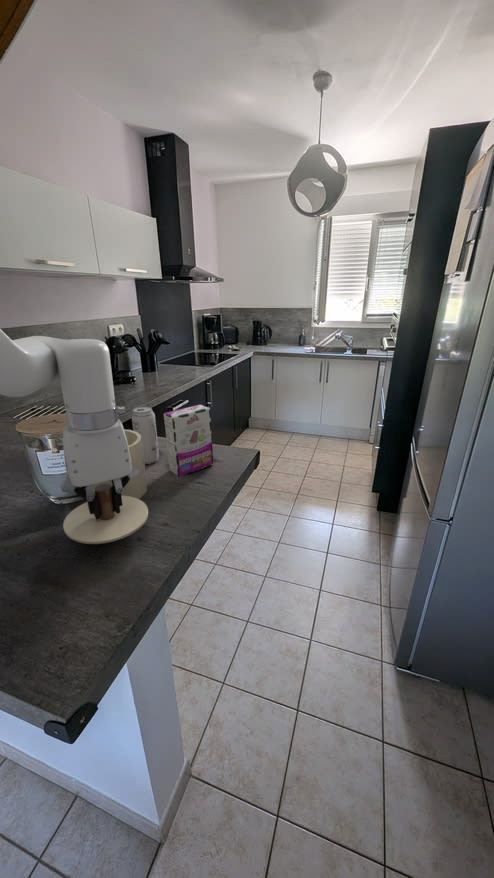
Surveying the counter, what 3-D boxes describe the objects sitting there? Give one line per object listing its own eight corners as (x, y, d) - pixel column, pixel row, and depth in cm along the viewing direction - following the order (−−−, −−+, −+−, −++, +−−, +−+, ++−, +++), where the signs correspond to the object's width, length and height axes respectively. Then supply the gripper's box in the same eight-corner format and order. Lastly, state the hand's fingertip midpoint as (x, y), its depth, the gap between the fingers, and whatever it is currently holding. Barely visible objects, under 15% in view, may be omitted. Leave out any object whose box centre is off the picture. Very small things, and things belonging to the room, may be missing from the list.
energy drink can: (159, 464, 97) (154, 412, 92) (136, 466, 96) (129, 413, 90) (159, 455, 103) (154, 405, 97) (137, 457, 101) (131, 407, 96)
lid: (72, 558, 56) (64, 521, 54) (58, 513, 68) (51, 480, 65) (160, 528, 64) (157, 494, 61) (134, 493, 75) (131, 462, 73)
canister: (93, 516, 74) (81, 458, 69) (80, 489, 85) (69, 436, 80) (155, 497, 81) (149, 443, 76) (136, 474, 92) (130, 425, 87)
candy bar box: (203, 459, 100) (200, 403, 94) (214, 465, 97) (211, 407, 90) (168, 471, 93) (162, 412, 87) (178, 478, 90) (173, 417, 84)
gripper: (135, 404, 65) (143, 491, 72) (33, 419, 57) (54, 516, 64) (149, 416, 60) (156, 509, 66) (38, 433, 51) (60, 538, 58)
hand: (106, 511), depth 65 cm, fingers closed on lid, 2 cm apart
